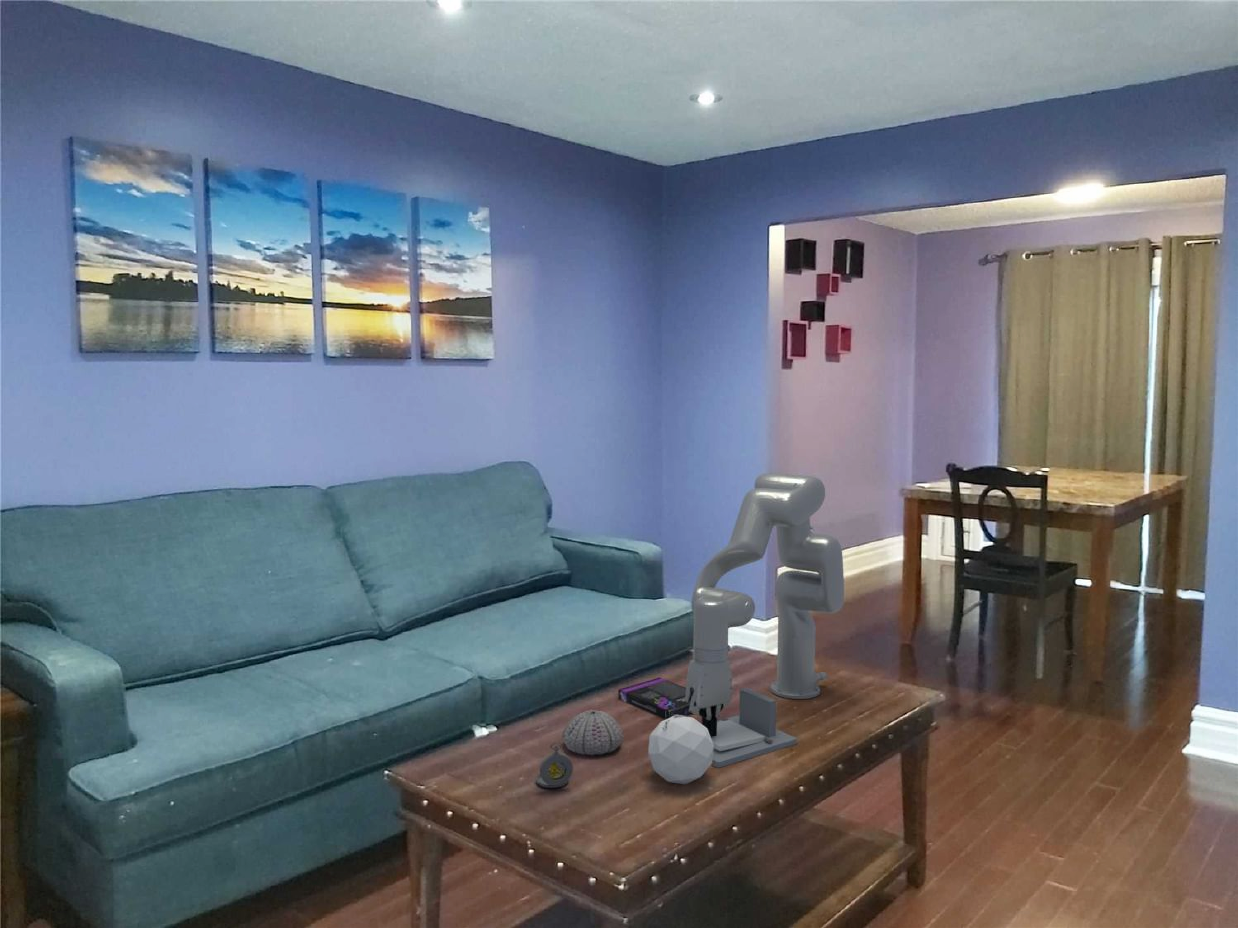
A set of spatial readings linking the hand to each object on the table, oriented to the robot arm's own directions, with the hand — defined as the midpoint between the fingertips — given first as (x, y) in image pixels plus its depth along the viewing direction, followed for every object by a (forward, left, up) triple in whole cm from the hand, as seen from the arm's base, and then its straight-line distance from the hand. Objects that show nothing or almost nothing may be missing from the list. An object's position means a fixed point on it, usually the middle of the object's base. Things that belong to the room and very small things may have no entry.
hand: (709, 734), depth 210 cm
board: (-6, 0, -3) cm, 7 cm away
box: (-8, -28, -4) cm, 29 cm away
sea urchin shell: (+21, -15, -4) cm, 26 cm away
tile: (-5, 0, -1) cm, 5 cm away
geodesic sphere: (+15, +9, -3) cm, 18 cm away
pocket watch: (+38, -3, -3) cm, 38 cm away
